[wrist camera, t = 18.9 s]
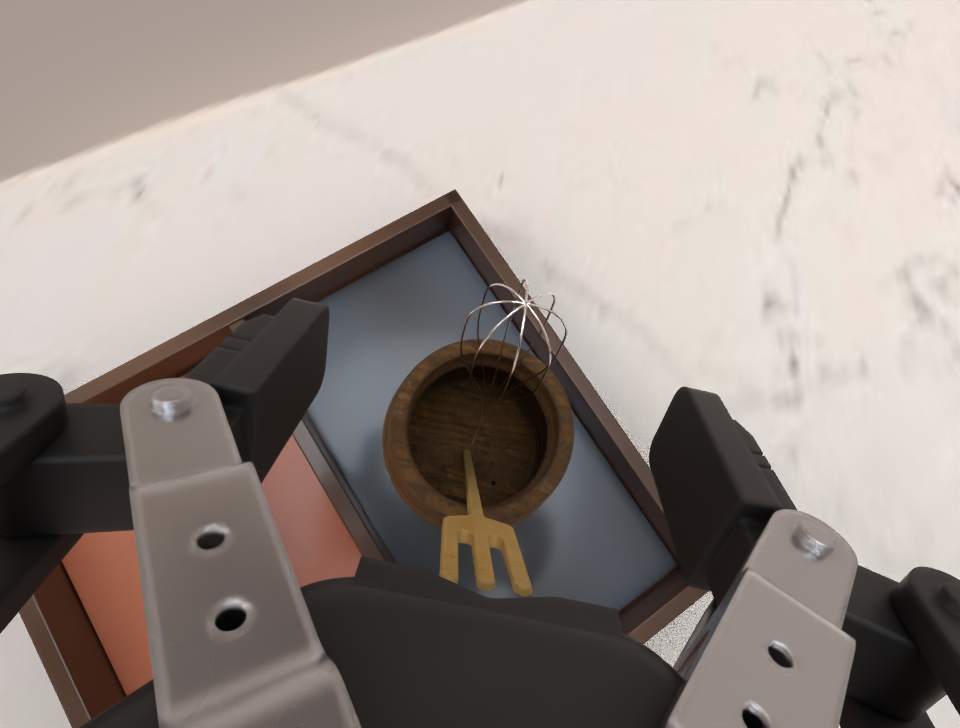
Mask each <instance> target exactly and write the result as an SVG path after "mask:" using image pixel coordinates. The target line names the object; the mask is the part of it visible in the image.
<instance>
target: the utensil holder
mask: <svg viewBox="0 0 960 728" xmlns="http://www.w3.org/2000/svg"><path fill="white" fill-rule="evenodd" d="M525 281H526V296H525V300H524V299H523V298H522V297H521V296H520V295H519V293H520V291H521V288H522V285H523V283H524V282H525ZM492 286H503V287H505V288H507V289H509V290H510V291H512V292H513V293H514V294H516V295H517V296H516V299H515V301H496V302H491V303H487V304H484V305H483V303H484V300H485V296H486V294H487V291H488V290H489V289H490V288H491V287H492ZM548 294H550V295H552V296H553V298H554V300H553V304H552V307H551V309H548V308H545V307H543V306H540V305H536V304H532V303H530V302H531V301H533V300H535V299H537V298H539V297H541V296H544V295H548ZM518 297H519V298H520V299H521V300H522V301H523V302H520V301H517V299H518ZM527 298H528V281H527V279H524V280H523V281H522V283H521V285H520V288H519V291H518V293H517V292H515V291H514V290H513V289H511V288H510V287H508V286H506V285H503V284H498V283H496V284H492V285H490V286H489V287H488V288H487V289H486V291H485V294H484V296H483V300H482V303H481V306H480V307H478V308H476V309H475V310H473V311H472V312H471V313H470V314H469V315H468V317H467V319H466V321H465V324H464V328H463V332H462V336H461V341H459V342H455V343H452V344H449V345H446V346H444V347H442V348H440V349H438V350H436V351H434V352H433V353H431V354H430V355H428V356H427V357H426V358H424V359H423V360H422V361H421V362H420V363H418V364H417V365H416V366H415V367H414V368H413V369H412V370H411V371H410V373H409V374H408V375H407V376H406V378H405V379H404V381H403V382H402V384H401V385H400V386H399V388H398V389H397V391H396V393H395V394H394V396H393V398H392V400H391V402H390V404H389V407H388V410H387V413H386V416H385V420H384V425H383V433H382V448H383V457H384V462H385V466H386V469H387V472H388V475H389V477H390V480H391V482H392V484H393V486H394V488H395V489H396V491H397V493H398V494H399V495H400V497H401V498H402V500H403V501H404V502H405V503H406V504H407V505H408V506H409V507H410V508H411V509H412V510H413V511H414V512H415V513H416V514H418V515H419V516H420V517H422V518H423V519H425V520H426V521H428V522H430V523H431V524H433V525H436V526H438V527H440V528H442V534H441V554H440V575H439V576H441V577H443V578H445V579H447V580H450V581H452V582H454V583H456V584H457V583H458V543H464V544H468V545H470V546H472V554H473V562H474V569H475V577H476V585H477V587H478V588H479V589H481V590H483V591H491V590H493V589H494V588H495V585H496V583H495V577H494V571H493V565H492V559H491V554H490V548H489V547H491V548H497V549H499V550H501V551H502V554H503V557H504V560H505V564H506V567H507V570H508V574H509V577H510V580H511V584H512V587H513V590H514V592H515V593H516V594H518V595H520V596H529V595H531V594H532V585H531V582H530V579H529V576H528V573H527V570H526V567H525V563H524V560H523V557H522V554H521V551H520V548H519V545H518V541H517V538H516V535H515V532H514V530H513V528H512V527H511V526H513V525H515V524H517V523H519V522H521V521H522V520H524V519H526V518H527V517H528V516H530V515H531V514H532V513H534V512H535V511H536V510H537V509H538V508H539V507H540V506H541V505H542V504H543V503H544V502H545V501H546V500H547V499H548V498H549V496H550V495H551V494H552V493H553V492H554V490H555V489H556V488H557V486H558V485H559V483H560V482H561V480H562V478H563V476H564V474H565V472H566V470H567V468H568V465H569V462H570V459H571V456H572V451H573V446H574V420H573V414H572V410H571V406H570V403H569V400H568V398H567V395H566V393H565V391H564V389H563V387H562V385H561V384H560V382H559V380H558V379H557V378H556V376H555V375H554V374H553V372H552V371H551V370H550V369H549V366H550V365H551V364H552V362H553V361H554V360H555V358H556V357H557V355H558V353H559V351H560V349H561V347H562V345H563V343H564V341H565V339H566V336H567V327H566V324H565V322H564V321H563V319H562V318H561V317H560V316H559V315H558V314H557V313H555V312H553V311H552V309H553V307H554V304H555V300H556V297H555V295H554V294H553V293H551V292H547V293H543V294H540V295H538V296H536V297H534V298H532V299H530V300H529V301H527ZM497 303H514V305H513V308H512V311H511V313H510V314H509V315H507V316H506V317H505V318H504V319H503V320H502V321H501V322H500V323H499V324H497V326H496V327H495V328H494V329H493V330H492V331H491V332H490V333H489V334H488V336H487V337H486V338H485V339H479V319H480V314H481V310H482V307H485V306H488V305H491V304H497ZM516 303H519V304H522V305H521V306H519V307H518V308H516V309H515V310H514V307H515V305H516ZM525 303H527V304H525ZM529 305H531V306H535V307H539V308H542V309H544V310H547V311H549V314H548V316H547V318H546V320H545V323H544V325H542V323H541V322H540V320H539V318H538V317H537V315H536V314H535V312H534V311H533V310H532V308H531V307H530V306H529ZM523 306H524V314H523V322H522V328H521V333H520V339H519V344H518V346H516V345H513V344H510V343H507V342H505V338H506V334H507V330H508V327H509V323H510V320H511V317H512V314H513V313H515V312H516V311H517V310H519V309H520V308H522V307H523ZM527 307H528V308H529V309H530V311H531V312H532V313H533V315H534V316H535V318H536V319H537V321H538V322H539V324H540V326H541V328H542V329H541V330H540V332H539V334H538V336H537V337H536V339H535V340H534V342H533V343H532V345H531V346H530V348H529V349H528V350H527V351H526V350H524V349H522V348H520V345H521V340H522V335H523V329H524V323H525V316H526V308H527ZM478 309H480V310H479V315H478V321H477V338H478V339H469V340H463V335H464V332H465V328H466V325H467V322H468V319H469V317H470V316H471V315H472V314H473V313H474V312H475V311H477V310H478ZM513 310H514V311H513ZM551 313H553V314H554V315H556V316H557V317H558V318H559V319H560V320H561V321H562V323H563V325H564V327H565V336H564V339H563V341H562V343H561V345H560V347H559V349H558V351H557V353H556V355H555V356H554V358H553V360H552V361H551V349H550V344H549V340H548V337H547V334H546V332H545V329H544V327H545V325H546V323H547V320H548V318H549V316H550V314H551ZM508 317H509V320H508V324H507V328H506V331H505V335H504V339H503V341H499V340H493V339H488V338H489V336H490V335H491V334H492V333H493V332H494V331H495V330H496V329H497V328H498V327H499V326H500V325H501V324H502V323H503V322H504V321H505V320H506V319H507V318H508ZM542 331H543V332H544V335H545V338H546V341H547V345H548V350H549V363H548V365H547V366H546V365H545V364H544V363H543V362H542V361H541V360H539V359H538V358H537V357H536V356H534V355H533V354H531V353H530V352H529V350H530V349H531V348H532V346H533V345H534V343H535V342H536V341H537V339H538V337H539V336H540V334H541V332H542ZM462 340H463V341H462Z"/></svg>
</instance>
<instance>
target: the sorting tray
mask: <svg viewBox="0 0 960 728" xmlns="http://www.w3.org/2000/svg"><path fill="white" fill-rule="evenodd" d="M496 283H498V284H503V285H506V286H508V287H510V288H511V289H513V290H514V291H515V292H517V293H518V291H519V288H520V285H521V283H520V281H519V280H518V278H517V277H516V276H515V274H514V273H513V271H512V270H511V268H510V267H509V266H508V264H507V263H506V261H505V260H504V258H503V257H502V255H501V254H500V253H499V251H498V250H497V248H496V247H495V245H494V244H493V243H492V241H491V240H490V238H489V237H488V235H487V234H486V233H485V231H484V230H483V228H482V227H481V225H480V224H479V222H478V221H477V220H476V218H475V217H474V215H473V214H472V212H471V211H470V210H469V208H468V207H467V205H466V204H465V202H464V201H463V199H462V198H461V197H460V195H459V194H458V192H457V191H456V190H453V191H451V192H449V193H447V194H445V195H443V196H441V197H440V198H438V199H436V200H434V201H432V202H430V203H428V204H426V205H424V206H422V207H421V208H419V209H417V210H415V211H413V212H411V213H409V214H407V215H405V216H403V217H402V218H400V219H398V220H396V221H394V222H392V223H390V224H388V225H386V226H384V227H383V228H381V229H379V230H377V231H375V232H373V233H371V234H369V235H367V236H366V237H364V238H362V239H360V240H358V241H356V242H354V243H352V244H350V245H348V246H347V247H345V248H343V249H341V250H339V251H337V252H335V253H333V254H331V255H329V256H328V257H326V258H324V259H322V260H320V261H318V262H316V263H314V264H312V265H311V266H309V267H307V268H305V269H303V270H301V271H299V272H297V273H295V274H293V275H292V276H290V277H288V278H286V279H284V280H282V281H280V282H278V283H276V284H274V285H273V286H271V287H269V288H267V289H265V290H263V291H261V292H259V293H257V294H255V295H254V296H252V297H250V298H248V299H246V300H244V301H242V302H240V303H238V304H237V305H235V306H233V307H231V308H229V309H227V310H225V311H223V312H221V313H219V314H218V315H216V316H214V317H212V318H210V319H208V320H206V321H204V322H202V323H200V324H199V325H197V326H195V327H193V328H191V329H189V330H187V331H185V332H183V333H181V334H180V335H178V336H176V337H174V338H172V339H170V340H168V341H166V342H164V343H163V344H161V345H159V346H157V347H155V348H153V349H151V350H149V351H147V352H145V353H144V354H142V355H140V356H138V357H136V358H134V359H132V360H130V361H128V362H126V363H125V364H123V365H121V366H119V367H117V368H115V369H113V370H111V371H109V372H108V373H106V374H104V375H102V376H100V377H98V378H96V379H94V380H92V381H90V382H89V383H87V384H85V385H83V386H81V387H79V388H77V389H75V390H73V391H71V392H70V393H68V394H66V395H64V398H65V402H66V403H109V404H113V403H121V401H122V400H123V398H124V397H125V396H126V395H127V394H128V393H129V392H130V391H132V390H133V389H135V388H137V387H139V386H141V385H143V384H146V383H148V382H152V381H156V380H160V379H167V378H184V377H185V376H186V375H187V374H188V373H189V372H190V371H191V370H192V369H193V368H194V367H196V366H197V365H198V364H199V363H200V362H201V361H202V360H203V359H204V358H205V357H206V356H207V355H208V354H210V353H211V352H212V351H213V350H214V349H215V348H216V347H219V346H220V343H221V342H222V341H224V340H225V339H226V338H227V337H230V334H231V333H232V332H233V331H234V330H235V329H236V328H238V327H239V326H240V325H241V324H242V323H243V322H245V321H247V320H250V319H252V318H255V317H257V316H260V315H262V314H267V315H272V316H275V315H276V314H277V313H278V312H279V311H280V310H281V309H282V308H283V307H284V306H285V305H286V304H287V303H288V302H289V301H290V300H291V299H292V298H297V299H301V300H305V301H310V302H314V303H319V304H323V305H327V306H328V307H329V330H328V344H327V357H326V369H325V374H324V378H323V382H322V385H321V388H320V390H319V392H318V394H317V395H316V397H315V399H314V400H313V402H312V403H311V405H310V407H309V408H308V410H307V411H306V413H305V415H304V416H303V418H302V419H301V421H300V423H299V424H298V426H297V427H296V429H295V431H294V432H293V434H292V435H291V437H290V439H289V440H288V442H287V443H286V445H285V447H284V448H283V450H282V451H281V453H280V455H279V456H278V458H277V459H276V461H275V463H274V464H273V466H272V467H271V469H270V471H269V472H268V474H267V475H266V477H265V479H264V480H263V482H262V483H261V485H262V488H263V491H264V493H265V496H266V499H267V501H268V504H269V507H270V509H271V512H272V515H273V517H274V520H275V523H276V525H277V528H278V531H279V534H280V536H281V539H282V542H283V544H284V547H285V550H286V552H287V555H288V558H289V560H290V563H291V566H292V568H293V571H294V574H295V576H296V579H297V582H298V584H299V587H303V586H305V585H308V584H311V583H315V582H319V581H322V580H326V579H333V578H340V577H354V576H355V573H356V570H357V567H358V564H359V561H360V558H361V556H363V557H367V558H372V559H377V560H382V561H387V562H392V563H397V564H401V565H406V566H411V567H416V568H421V569H425V570H428V571H430V572H432V573H434V574H436V575H440V554H441V534H442V528H440V527H438V526H436V525H433V524H431V523H430V522H428V521H426V520H425V519H423V518H422V517H420V516H419V515H418V514H416V513H415V512H414V511H413V510H412V509H411V508H410V507H409V506H408V505H407V504H406V503H405V502H404V501H403V500H402V498H401V497H400V495H399V494H398V493H397V491H396V489H395V488H394V486H393V484H392V482H391V480H390V477H389V475H388V472H387V469H386V466H385V462H384V457H383V448H382V433H383V425H384V420H385V416H386V413H387V410H388V407H389V404H390V402H391V400H392V398H393V396H394V394H395V393H396V391H397V389H398V388H399V386H400V385H401V384H402V382H403V381H404V379H405V378H406V376H407V375H408V374H409V373H410V371H411V370H412V369H413V368H414V367H415V366H416V365H417V364H418V363H420V362H421V361H422V360H423V359H424V358H426V357H427V356H428V355H430V354H431V353H433V352H434V351H436V350H438V349H440V348H442V347H444V346H446V345H449V344H452V343H455V342H459V341H461V336H462V332H463V328H464V324H465V321H466V319H467V317H468V315H469V314H470V313H471V312H472V311H473V310H475V309H476V308H478V307H480V306H481V303H482V300H483V296H484V294H485V291H486V289H487V288H488V287H489V286H490V285H492V284H496ZM519 295H520V296H521V297H522V298H523V299H524V300H525V296H526V290H525V289H524V287H523V286H522V288H521V291H520V293H519ZM516 296H517V295H516V294H514V293H513V292H512V291H510V290H509V289H507V288H505V287H503V286H492V287H491V288H490V289H489V290H488V291H487V294H486V296H485V300H484V303H483V305H484V304H487V303H491V302H496V301H515V299H516ZM530 299H531V297H530V296H529V294H528V298H527V301H529V300H530ZM517 301H520V302H523V301H522V300H521V299H520V298H519V297H518V299H517ZM530 303H532V304H535V303H534V301H531V302H530ZM525 304H527V303H525ZM513 305H514V303H497V304H491V305H488V306H485V307H482V310H481V314H480V319H479V339H485V338H486V337H487V336H488V334H489V333H490V332H491V331H492V330H493V329H494V328H495V327H496V326H497V324H499V323H500V322H501V321H502V320H503V319H504V318H505V317H506V316H507V315H509V314H510V313H511V311H512V308H513ZM521 305H522V304H519V303H516V305H515V307H514V310H515V309H516V308H518V307H519V306H521ZM529 306H530V307H531V308H532V310H533V311H534V312H535V314H536V315H537V317H538V318H539V320H540V322H541V323H542V325H544V323H545V320H546V319H545V317H544V316H543V314H542V313H541V311H540V310H539V309H538V307H535V306H531V305H529ZM479 310H480V309H478V310H477V311H475V312H474V313H473V314H472V315H471V316H470V317H469V319H468V322H467V325H466V328H465V332H464V335H463V340H469V339H478V338H477V321H478V315H479ZM514 310H513V311H514ZM523 314H524V306H523V307H522V308H520V309H519V310H517V311H516V312H515V313H513V314H512V317H511V320H510V323H509V327H508V330H507V334H506V338H505V342H507V343H510V344H513V345H516V346H518V344H519V339H520V333H521V328H522V322H523ZM508 320H509V317H508V318H507V319H506V320H505V321H504V322H503V323H502V324H501V325H500V326H499V327H498V328H497V329H496V330H495V331H494V332H493V333H492V334H491V335H490V336H489V338H488V339H493V340H499V341H503V339H504V335H505V331H506V328H507V324H508ZM541 329H542V328H541V326H540V324H539V322H538V321H537V319H536V318H535V316H534V315H533V313H532V312H531V311H530V309H529V308H528V307H527V308H526V316H525V323H524V329H523V335H522V340H521V345H520V348H522V349H524V350H526V351H527V350H528V349H529V348H530V346H531V345H532V343H533V342H534V340H535V339H536V337H537V336H538V334H539V332H540V330H541ZM544 329H545V332H546V334H547V337H548V340H549V344H550V349H551V361H552V360H553V358H554V356H555V355H556V353H557V351H558V349H559V347H560V345H561V343H562V342H561V340H560V339H559V337H558V336H557V334H556V333H555V332H554V330H553V329H552V327H551V326H550V324H549V323H548V322H547V323H546V325H545V327H544ZM463 340H462V341H463ZM529 352H530V353H531V354H533V355H534V356H536V357H537V358H538V359H539V360H541V361H542V362H543V363H544V364H545V365H546V366H547V365H548V363H549V350H548V345H547V341H546V338H545V335H544V332H543V331H542V332H541V334H540V336H539V337H538V339H537V341H536V342H535V343H534V345H533V346H532V348H531V349H530V350H529ZM549 369H550V370H551V371H552V372H553V374H554V375H555V376H556V378H557V379H558V380H559V382H560V384H561V385H562V387H563V389H564V391H565V393H566V395H567V398H568V400H569V403H570V406H571V410H572V414H573V420H574V446H573V451H572V456H571V459H570V462H569V465H568V468H567V470H566V472H565V474H564V476H563V478H562V480H561V482H560V483H559V485H558V486H557V488H556V489H555V490H554V492H553V493H552V494H551V495H550V496H549V498H548V499H547V500H546V501H545V502H544V503H543V504H542V505H541V506H540V507H539V508H538V509H537V510H536V511H535V512H534V513H532V514H531V515H530V516H528V517H527V518H526V519H524V520H522V521H521V522H519V523H517V524H515V525H513V526H511V527H512V528H513V530H514V532H515V535H516V538H517V541H518V545H519V548H520V551H521V554H522V557H523V560H524V563H525V567H526V570H527V573H528V576H529V579H530V582H531V585H532V594H531V595H529V596H520V595H518V594H516V593H515V592H514V590H513V587H512V584H511V580H510V577H509V574H508V570H507V567H506V564H505V560H504V557H503V554H502V551H501V550H499V549H497V548H491V547H489V548H490V554H491V559H492V565H493V571H494V577H495V583H496V585H495V588H494V589H493V590H491V591H483V590H481V589H479V588H478V587H477V585H476V577H475V569H474V562H473V554H472V546H470V545H468V544H464V543H458V583H457V584H458V585H461V586H463V587H465V588H467V589H469V590H472V591H474V592H476V593H478V594H480V595H482V596H485V597H488V598H496V599H498V598H525V597H551V596H557V597H561V598H566V599H571V600H576V601H581V602H586V603H591V604H595V605H600V606H605V607H610V608H615V609H618V613H619V619H620V625H621V631H622V633H624V634H626V635H628V636H630V637H631V638H633V639H635V640H637V641H638V642H640V643H642V644H644V643H645V642H647V641H648V640H649V639H650V638H652V637H653V636H654V635H655V634H656V633H658V632H659V631H660V630H661V629H663V628H664V627H665V626H666V625H668V624H669V623H670V622H671V621H673V620H674V619H675V618H676V617H677V616H679V615H680V614H681V613H682V612H684V611H685V610H686V609H687V608H689V607H690V606H691V605H692V604H693V603H695V602H696V601H697V600H698V599H700V598H701V597H702V596H703V595H705V594H706V593H707V592H708V591H706V590H702V589H697V588H692V587H687V586H686V583H685V580H684V576H683V573H682V570H681V566H680V563H679V560H678V557H677V553H676V550H675V547H674V543H673V540H672V537H671V534H670V530H669V527H668V524H667V521H666V517H665V514H664V511H663V507H662V504H661V501H660V498H659V494H658V491H657V488H656V484H655V481H654V478H653V475H652V471H651V469H650V468H649V467H648V465H647V464H646V462H645V461H644V459H643V458H642V457H641V455H640V454H639V452H638V451H637V449H636V448H635V447H634V445H633V444H632V442H631V441H630V439H629V438H628V436H627V435H626V434H625V432H624V431H623V429H622V428H621V426H620V425H619V424H618V422H617V421H616V419H615V418H614V416H613V415H612V413H611V412H610V411H609V409H608V408H607V406H606V405H605V403H604V402H603V401H602V399H601V398H600V396H599V395H598V393H597V392H596V390H595V389H594V388H593V386H592V385H591V383H590V382H589V380H588V379H587V378H586V376H585V375H584V373H583V372H582V370H581V369H580V368H579V366H578V365H577V363H576V362H575V360H574V359H573V357H572V356H571V355H570V353H569V352H568V350H567V349H566V347H565V346H564V345H562V347H561V349H560V351H559V353H558V355H557V357H556V358H555V360H554V361H553V362H552V364H551V365H550V366H549ZM19 613H20V615H21V618H22V620H23V622H24V624H25V626H26V628H27V631H28V633H29V635H30V637H31V639H32V642H33V644H34V646H35V648H36V650H37V652H38V655H39V657H40V659H41V661H42V663H43V665H44V668H45V670H46V672H47V674H48V676H49V679H50V681H51V683H52V685H53V687H54V689H55V692H56V694H57V696H58V698H59V700H60V702H61V705H62V707H63V709H64V711H65V713H66V716H67V718H68V720H69V722H70V724H71V726H72V728H79V727H80V726H82V725H83V724H85V723H86V722H88V721H89V720H91V719H93V718H94V717H96V716H97V715H99V714H100V713H102V712H103V711H105V710H106V709H108V708H109V707H111V706H112V705H114V704H115V703H117V702H118V701H120V700H122V699H123V698H125V697H126V696H128V695H129V694H131V693H132V692H134V691H135V690H137V689H138V688H140V687H141V686H143V685H144V684H146V683H148V682H149V681H151V680H152V679H153V675H152V667H151V659H150V651H149V643H148V636H147V628H146V620H145V612H144V604H143V597H142V589H141V581H140V573H139V565H138V558H137V550H136V542H135V534H134V530H131V531H114V532H98V533H84V534H83V536H82V537H81V538H80V539H79V540H78V542H77V543H76V544H75V545H74V546H73V548H72V549H71V550H70V551H69V552H68V553H67V555H66V556H65V557H64V558H63V559H62V561H61V562H60V563H59V564H58V565H57V567H56V568H55V569H54V570H53V571H52V573H51V574H50V575H49V576H48V577H47V578H46V580H45V581H44V582H43V583H42V584H41V586H40V587H39V588H38V589H37V590H36V592H35V593H34V594H33V595H32V596H31V598H30V599H29V600H28V601H27V602H26V604H25V605H24V606H23V607H22V608H21V609H20V611H19Z"/></svg>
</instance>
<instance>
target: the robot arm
mask: <svg viewBox="0 0 960 728" xmlns="http://www.w3.org/2000/svg"><path fill="white" fill-rule="evenodd" d="M328 330H329V307H328V306H327V305H323V304H319V303H314V302H310V301H305V300H301V299H297V298H292V299H291V300H290V301H289V302H288V303H287V304H286V305H285V306H284V307H283V308H282V309H281V310H280V311H279V312H278V313H277V314H276V315H275V316H272V315H267V314H262V315H260V316H257V317H255V318H252V319H250V320H247V321H245V322H243V323H242V324H241V325H240V326H239V327H238V328H236V329H235V330H234V331H233V332H232V333H231V334H230V337H227V338H226V339H225V340H224V341H222V342H221V343H220V346H219V347H216V348H215V349H214V350H213V351H212V352H211V353H210V354H208V355H207V356H206V357H205V358H204V359H203V360H202V361H201V362H200V363H199V364H198V365H197V366H196V367H194V368H193V369H192V370H191V371H190V372H189V373H188V374H187V375H186V376H185V377H184V378H167V379H160V380H156V381H152V382H148V383H146V384H143V385H141V386H139V387H137V388H135V389H133V390H132V391H130V392H129V393H128V394H127V395H126V396H125V397H124V398H123V400H122V401H121V403H113V404H109V403H66V402H65V398H64V394H63V389H62V387H61V385H60V384H59V383H58V382H57V381H55V380H54V379H52V378H49V377H47V376H43V375H38V374H31V373H11V374H2V375H0V633H1V632H2V631H3V630H4V629H5V627H6V626H7V625H8V624H9V623H10V621H11V620H12V619H13V618H14V617H15V615H16V614H17V613H18V612H19V611H20V609H21V608H22V607H23V606H24V605H25V604H26V602H27V601H28V600H29V599H30V598H31V596H32V595H33V594H34V593H35V592H36V590H37V589H38V588H39V587H40V586H41V584H42V583H43V582H44V581H45V580H46V578H47V577H48V576H49V575H50V574H51V573H52V571H53V570H54V569H55V568H56V567H57V565H58V564H59V563H60V562H61V561H62V559H63V558H64V557H65V556H66V555H67V553H68V552H69V551H70V550H71V549H72V548H73V546H74V545H75V544H76V543H77V542H78V540H79V539H80V538H81V537H82V536H83V534H84V533H98V532H114V531H131V530H134V534H135V542H136V550H137V558H138V565H139V573H140V581H141V589H142V597H143V604H144V612H145V620H146V628H147V636H148V643H149V651H150V659H151V667H152V675H153V679H152V680H151V681H149V682H148V683H146V684H144V685H143V686H141V687H140V688H138V689H137V690H135V691H134V692H132V693H131V694H129V695H128V696H126V697H125V698H123V699H122V700H120V701H118V702H117V703H115V704H114V705H112V706H111V707H109V708H108V709H106V710H105V711H103V712H102V713H100V714H99V715H97V716H96V717H94V718H93V719H91V720H89V721H88V722H86V723H85V724H83V725H82V726H80V727H79V728H838V726H839V724H840V727H841V728H935V727H934V725H933V723H932V722H931V720H930V718H929V716H928V715H927V713H926V710H928V709H929V708H930V707H931V706H933V705H934V704H935V703H936V702H938V701H939V700H940V699H941V698H943V697H944V696H945V695H946V694H947V695H948V697H949V699H950V700H951V702H952V704H953V705H954V707H955V708H956V710H957V712H958V713H959V715H960V580H958V579H957V578H955V577H953V576H951V575H949V574H947V573H944V572H942V571H939V570H936V569H933V568H928V567H916V568H914V569H912V570H911V571H910V572H909V574H908V575H907V576H906V577H905V578H904V579H903V580H902V581H901V582H900V583H898V582H896V581H894V580H891V579H889V578H887V577H884V576H882V575H880V574H878V573H875V572H873V571H871V570H869V569H866V568H864V567H862V566H859V565H858V561H857V557H856V555H855V553H854V551H853V550H852V548H851V546H850V545H849V544H848V543H847V541H846V540H845V539H844V538H843V537H842V536H841V535H840V534H838V533H837V532H836V531H835V530H834V529H832V528H831V527H830V526H828V525H827V524H825V523H824V522H822V521H821V520H819V519H817V518H815V517H813V516H811V515H809V514H806V513H803V512H801V511H797V509H796V507H795V506H794V504H793V502H792V501H791V499H790V497H789V496H788V494H787V492H786V491H785V489H784V487H783V486H782V484H781V482H780V481H779V479H778V477H777V476H776V474H775V472H774V471H773V470H771V466H770V464H769V462H768V461H767V459H766V457H765V456H762V454H763V452H762V451H761V449H760V447H759V446H758V444H757V442H756V441H755V439H754V438H753V436H752V435H751V434H750V433H749V432H748V431H746V430H745V429H744V428H743V427H742V426H741V425H740V424H739V423H738V422H737V421H736V420H733V419H732V418H731V416H730V415H729V413H728V411H727V409H726V408H725V406H724V404H723V402H722V401H721V399H720V397H719V396H718V395H717V394H715V393H710V392H706V391H701V390H697V389H692V388H688V387H681V388H680V389H679V390H678V391H677V392H676V394H675V395H674V397H673V399H672V401H671V403H670V406H669V408H668V410H667V412H666V414H665V416H664V418H663V420H662V422H661V424H660V426H659V428H658V430H657V432H656V434H655V436H654V438H653V441H652V444H651V447H650V454H649V463H650V468H651V471H652V475H653V478H654V481H655V484H656V488H657V491H658V494H659V498H660V501H661V504H662V507H663V511H664V514H665V517H666V521H667V524H668V527H669V530H670V534H671V537H672V540H673V543H674V547H675V550H676V553H677V557H678V560H679V563H680V566H681V570H682V573H683V576H684V580H685V583H686V586H687V587H692V588H697V589H702V590H706V591H711V592H712V594H713V597H714V599H713V600H712V602H711V603H710V605H709V606H708V608H707V609H706V611H705V612H704V614H703V616H702V617H701V619H700V621H699V623H698V624H697V626H696V628H695V630H694V631H693V633H692V635H691V637H690V638H689V640H688V642H687V644H686V645H685V647H684V649H683V650H682V652H681V654H680V656H679V657H678V659H677V661H676V663H675V664H674V666H673V668H672V667H671V666H670V665H669V664H668V663H667V662H666V661H664V660H663V659H662V658H661V657H660V656H659V655H657V654H656V653H655V652H653V651H652V650H650V649H649V648H648V647H646V646H645V645H643V644H642V643H640V642H638V641H637V640H635V639H633V638H631V637H630V636H628V635H626V634H624V633H622V631H621V625H620V619H619V613H618V609H615V608H610V607H605V606H600V605H595V604H591V603H586V602H581V601H576V600H571V599H566V598H561V597H557V596H551V597H525V598H498V599H496V598H488V597H485V596H482V595H480V594H478V593H476V592H474V591H472V590H469V589H467V588H465V587H463V586H461V585H458V584H456V583H454V582H452V581H450V580H447V579H445V578H443V577H441V576H439V575H436V574H434V573H432V572H430V571H428V570H425V569H421V568H416V567H411V566H406V565H401V564H397V563H392V562H387V561H382V560H377V559H372V558H367V557H363V556H361V558H360V561H359V564H358V567H357V570H356V573H355V576H354V577H340V578H333V579H326V580H322V581H319V582H315V583H311V584H308V585H305V586H303V587H299V584H298V582H297V579H296V576H295V574H294V571H293V568H292V566H291V563H290V560H289V558H288V555H287V552H286V550H285V547H284V544H283V542H282V539H281V536H280V534H279V531H278V528H277V525H276V523H275V520H274V517H273V515H272V512H271V509H270V507H269V504H268V501H267V499H266V496H265V493H264V491H263V488H262V485H261V483H262V482H263V480H264V479H265V477H266V475H267V474H268V472H269V471H270V469H271V467H272V466H273V464H274V463H275V461H276V459H277V458H278V456H279V455H280V453H281V451H282V450H283V448H284V447H285V445H286V443H287V442H288V440H289V439H290V437H291V435H292V434H293V432H294V431H295V429H296V427H297V426H298V424H299V423H300V421H301V419H302V418H303V416H304V415H305V413H306V411H307V410H308V408H309V407H310V405H311V403H312V402H313V400H314V399H315V397H316V395H317V394H318V392H319V390H320V388H321V385H322V382H323V378H324V374H325V369H326V357H327V344H328Z"/></svg>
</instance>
